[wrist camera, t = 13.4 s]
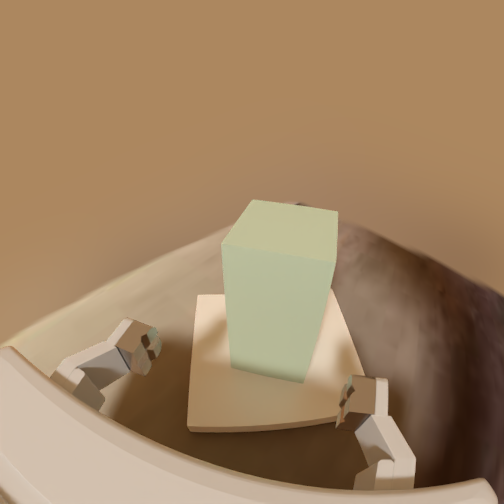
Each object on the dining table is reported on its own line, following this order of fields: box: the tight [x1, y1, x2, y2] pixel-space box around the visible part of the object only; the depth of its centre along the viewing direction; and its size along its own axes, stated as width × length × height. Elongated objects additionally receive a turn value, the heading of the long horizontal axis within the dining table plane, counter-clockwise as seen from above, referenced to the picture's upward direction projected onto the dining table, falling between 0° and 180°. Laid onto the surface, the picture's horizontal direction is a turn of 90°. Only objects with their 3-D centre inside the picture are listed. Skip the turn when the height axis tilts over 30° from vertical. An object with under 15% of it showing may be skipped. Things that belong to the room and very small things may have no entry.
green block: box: [221, 200, 338, 384], centre depth 17 cm, size 5×5×10 cm
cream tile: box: [187, 289, 365, 432], centre depth 20 cm, size 12×12×1 cm
